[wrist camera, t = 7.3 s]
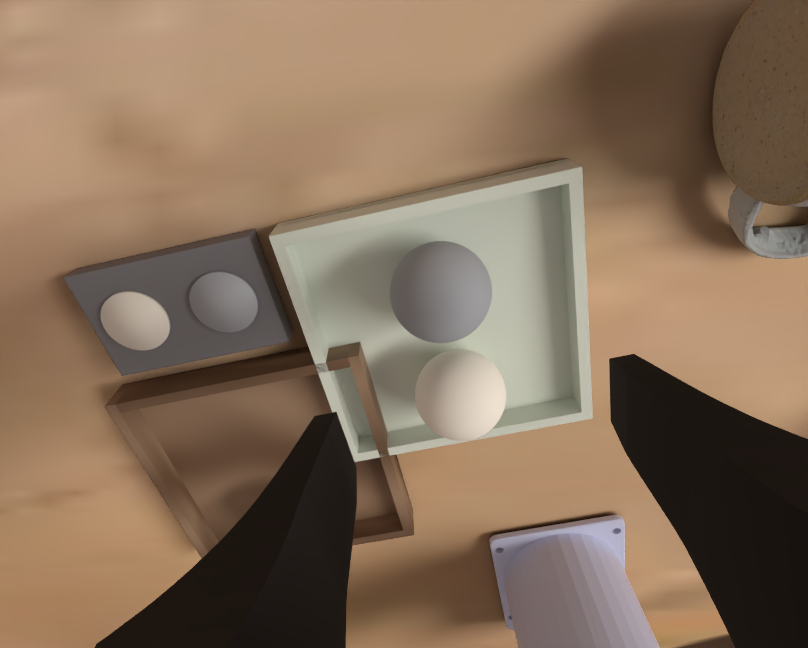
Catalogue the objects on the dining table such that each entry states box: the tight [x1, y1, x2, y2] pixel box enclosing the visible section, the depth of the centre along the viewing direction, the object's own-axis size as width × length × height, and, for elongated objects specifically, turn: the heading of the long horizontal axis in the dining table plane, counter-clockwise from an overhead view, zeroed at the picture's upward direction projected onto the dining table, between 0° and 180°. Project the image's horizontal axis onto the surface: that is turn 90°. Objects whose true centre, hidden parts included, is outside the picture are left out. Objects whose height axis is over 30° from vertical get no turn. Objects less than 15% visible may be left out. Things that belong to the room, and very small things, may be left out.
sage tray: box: [269, 159, 593, 462], centre depth 22 cm, size 12×12×2 cm
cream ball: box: [415, 349, 506, 441], centre depth 22 cm, size 4×4×4 cm
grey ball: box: [390, 241, 492, 343], centre depth 19 cm, size 4×4×4 cm
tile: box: [64, 229, 293, 376], centre depth 21 cm, size 5×8×1 cm, turn 102°
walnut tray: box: [105, 342, 414, 558], centre depth 26 cm, size 12×12×2 cm
